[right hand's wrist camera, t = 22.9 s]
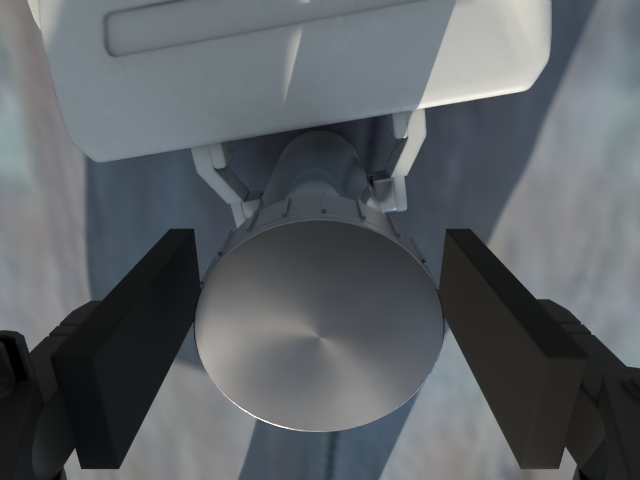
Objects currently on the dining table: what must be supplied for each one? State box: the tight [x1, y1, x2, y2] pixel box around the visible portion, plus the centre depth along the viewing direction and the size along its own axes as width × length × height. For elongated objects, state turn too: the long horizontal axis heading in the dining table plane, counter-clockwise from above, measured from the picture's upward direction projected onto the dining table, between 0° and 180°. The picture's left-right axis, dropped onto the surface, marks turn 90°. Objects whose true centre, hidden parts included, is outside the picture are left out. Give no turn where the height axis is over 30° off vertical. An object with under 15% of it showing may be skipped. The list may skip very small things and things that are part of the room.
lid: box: [194, 192, 444, 432], centre depth 11 cm, size 6×6×2 cm
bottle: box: [256, 130, 385, 214], centre depth 19 cm, size 5×5×17 cm
